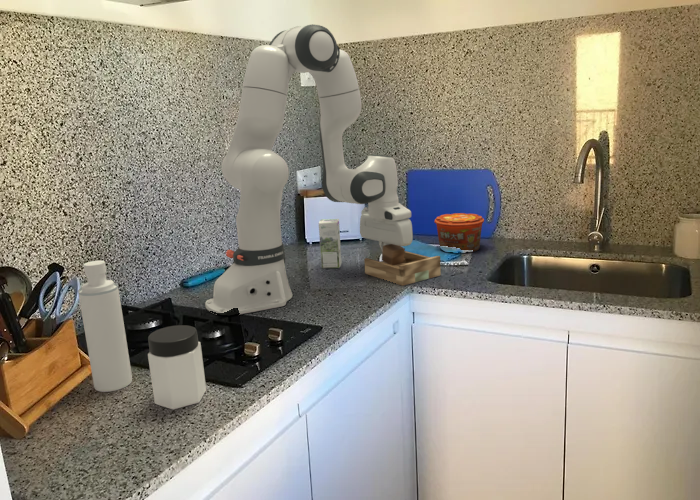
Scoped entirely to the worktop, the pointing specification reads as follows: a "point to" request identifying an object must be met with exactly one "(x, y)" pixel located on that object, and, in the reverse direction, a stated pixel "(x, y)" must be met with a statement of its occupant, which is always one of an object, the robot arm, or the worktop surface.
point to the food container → (460, 230)
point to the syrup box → (330, 243)
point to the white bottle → (104, 329)
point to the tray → (405, 269)
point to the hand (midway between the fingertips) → (386, 256)
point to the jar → (176, 366)
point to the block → (393, 254)
